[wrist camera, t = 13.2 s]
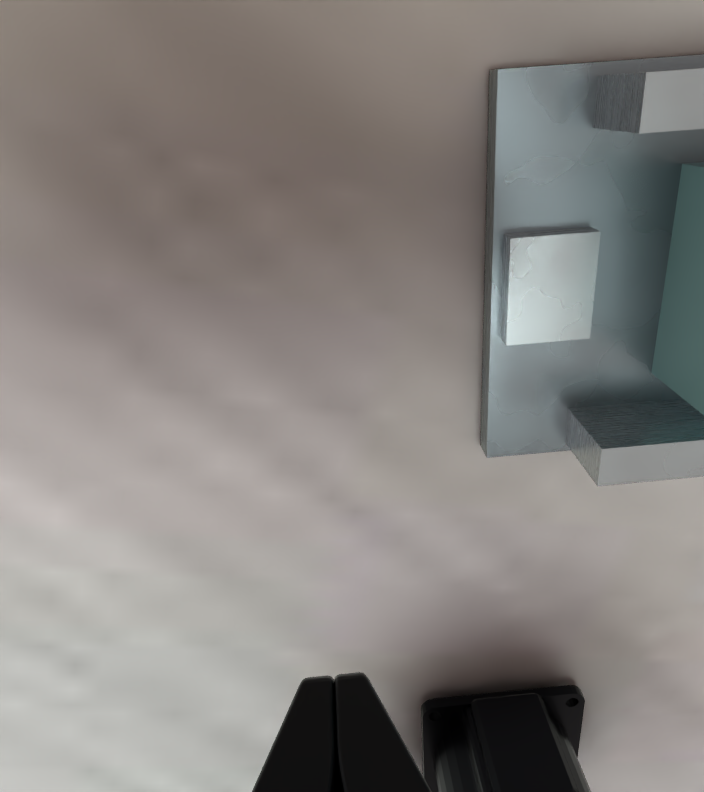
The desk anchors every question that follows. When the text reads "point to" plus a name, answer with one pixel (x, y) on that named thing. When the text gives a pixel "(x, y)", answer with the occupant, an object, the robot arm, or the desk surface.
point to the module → (684, 295)
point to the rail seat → (587, 263)
